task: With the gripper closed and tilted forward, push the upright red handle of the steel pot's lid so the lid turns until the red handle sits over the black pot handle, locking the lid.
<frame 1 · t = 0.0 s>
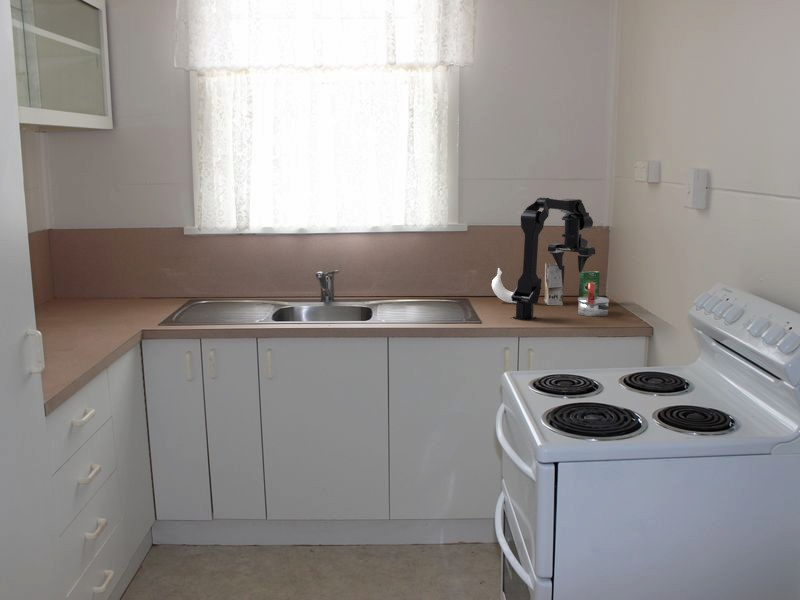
hand: (570, 271, 319), 15 cm above the countertop, tool pointing down, fingers open, 9 cm apart
coffee box: (553, 303, 331), on the countertop
coffee box 2: (588, 303, 331), on the countertop
banana: (514, 303, 331), on the countertop
pot: (592, 313, 311), on the countertop
lid: (593, 291, 307), point 9 cm above the countertop, hinge at 0.0°
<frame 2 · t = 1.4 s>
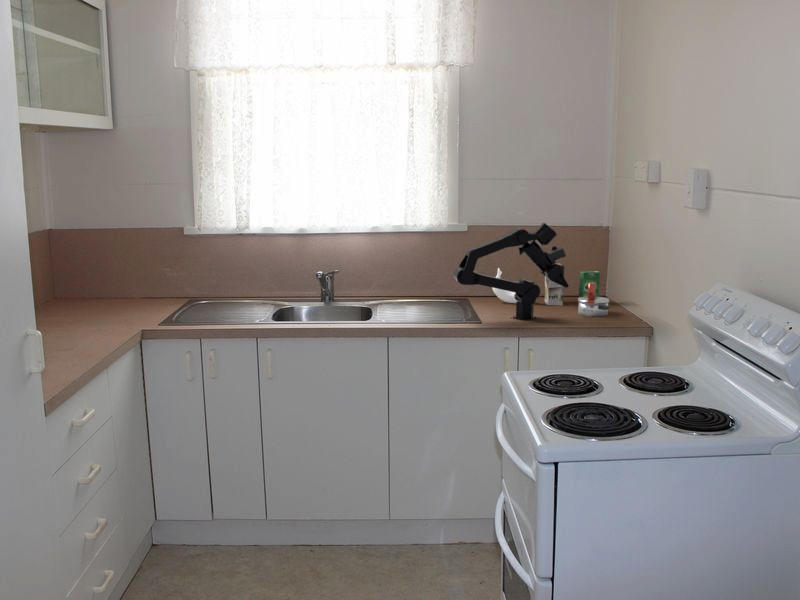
hand: (565, 285, 301), 12 cm above the countertop, tool tilted 45°, fingers open, 8 cm apart
nothing on the countertop moved.
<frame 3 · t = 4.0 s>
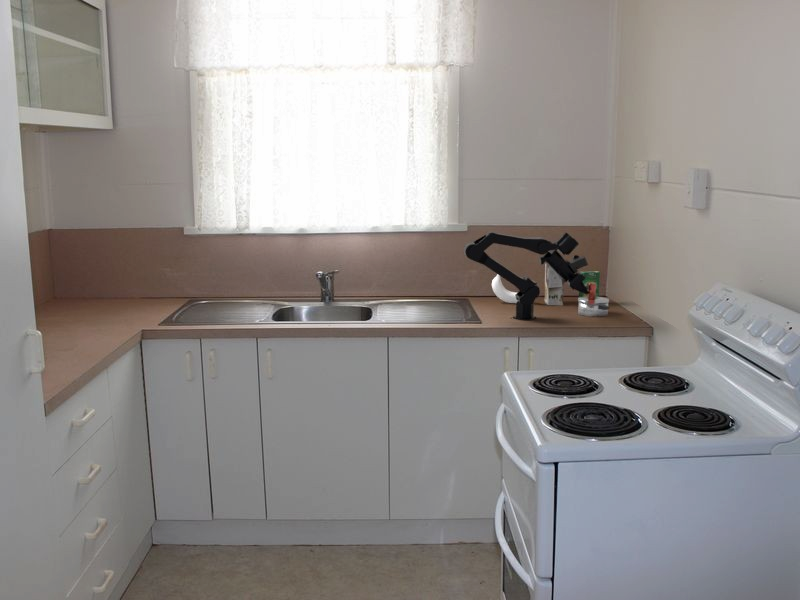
hand: (587, 293, 301), 9 cm above the countertop, tool tilted 45°, fingers closed, pressing on lid
lid: (593, 291, 307), point 9 cm above the countertop, hinge at 0.8°, touching gripper
everything else where it was.
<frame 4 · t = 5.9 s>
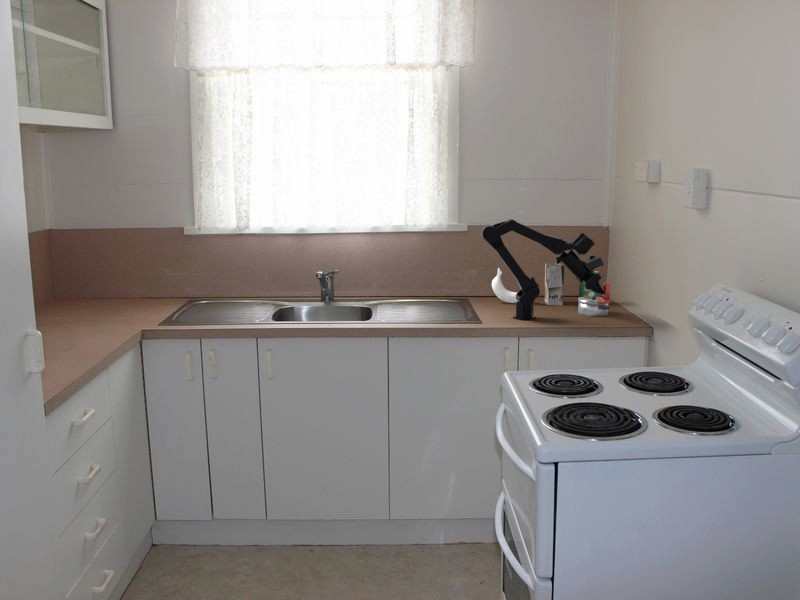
hand: (603, 293, 300), 9 cm above the countertop, tool tilted 45°, fingers closed
lid: (596, 291, 307), point 9 cm above the countertop, hinge at 40.5°, touching gripper
everything else where it was.
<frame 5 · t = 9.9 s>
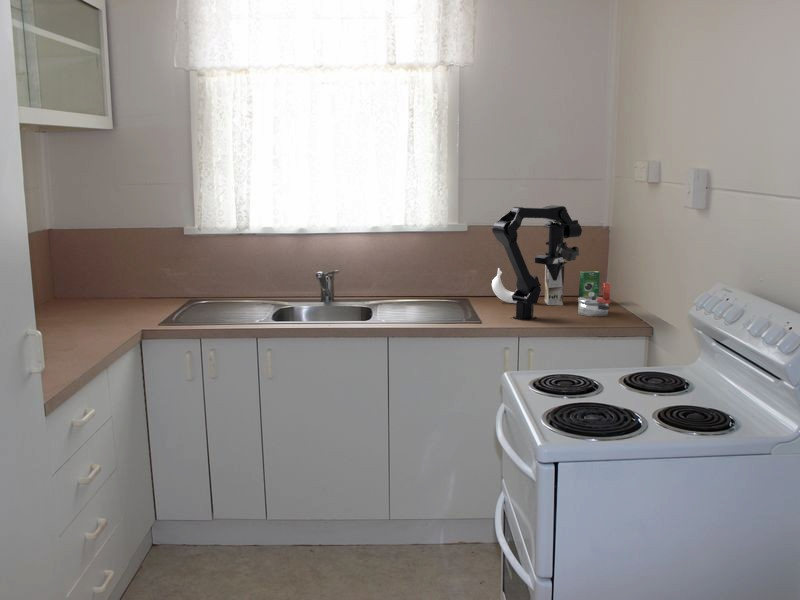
hand: (554, 280, 307), 13 cm above the countertop, tool pointing down, fingers closed
lid: (596, 291, 307), point 9 cm above the countertop, hinge at 40.5°
everything else where it was.
at the end: lid at +40° (first picture: +0°) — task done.
